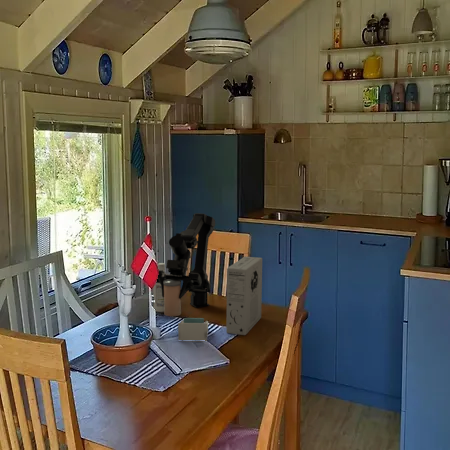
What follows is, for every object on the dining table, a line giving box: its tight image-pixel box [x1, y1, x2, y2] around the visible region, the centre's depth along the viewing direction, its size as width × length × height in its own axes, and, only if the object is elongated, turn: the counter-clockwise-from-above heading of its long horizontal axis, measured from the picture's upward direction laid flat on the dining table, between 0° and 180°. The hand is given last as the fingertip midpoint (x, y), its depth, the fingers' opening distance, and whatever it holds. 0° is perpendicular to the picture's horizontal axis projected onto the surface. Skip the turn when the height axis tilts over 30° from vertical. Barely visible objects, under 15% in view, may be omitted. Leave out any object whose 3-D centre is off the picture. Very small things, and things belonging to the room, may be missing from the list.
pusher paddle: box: [183, 317, 205, 323], centre depth 202 cm, size 2×7×5 cm, turn 89°
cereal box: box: [226, 256, 263, 336], centre depth 212 cm, size 22×8×25 cm, turn 160°
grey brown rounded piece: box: [163, 279, 182, 317], centre depth 206 cm, size 7×7×12 cm
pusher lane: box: [177, 320, 209, 342], centre depth 202 cm, size 12×10×6 cm
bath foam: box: [152, 262, 167, 313], centre depth 231 cm, size 7×7×20 cm
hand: (171, 297), depth 204 cm, fingers closed on grey brown rounded piece, 6 cm apart
